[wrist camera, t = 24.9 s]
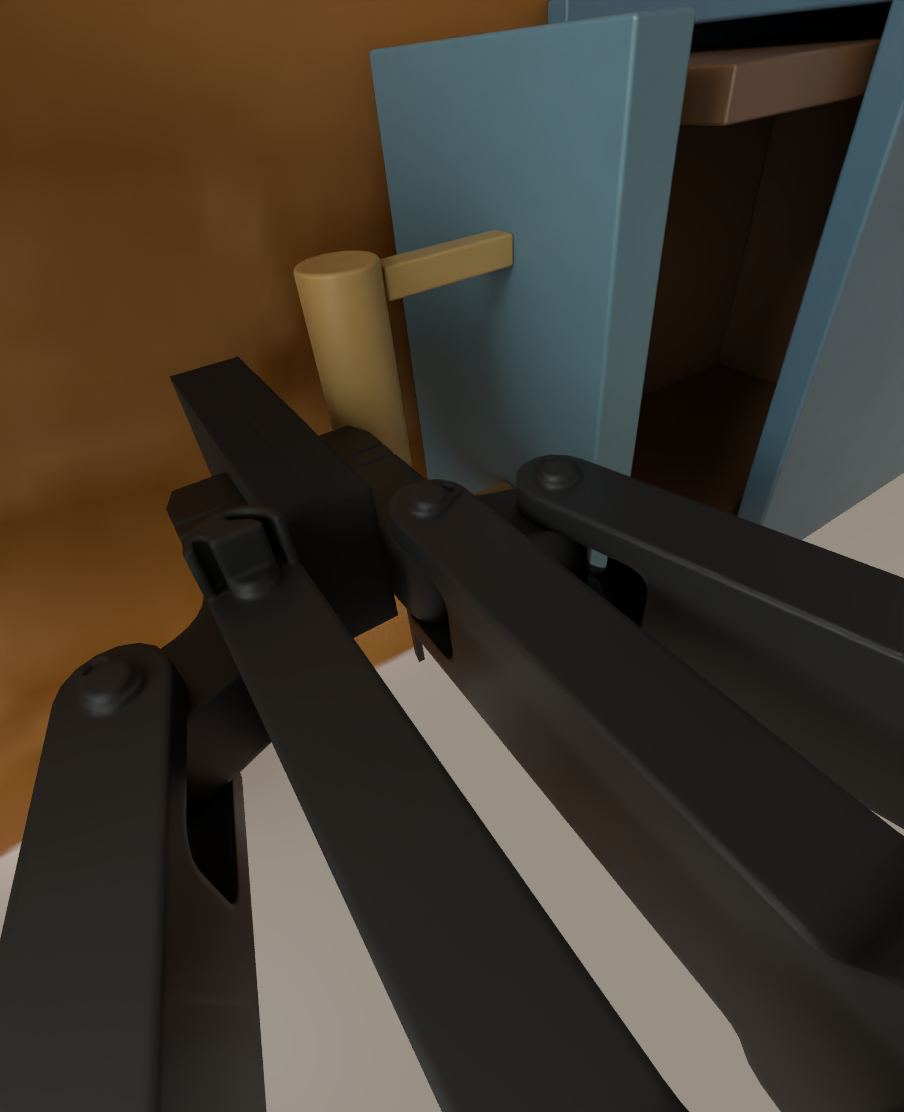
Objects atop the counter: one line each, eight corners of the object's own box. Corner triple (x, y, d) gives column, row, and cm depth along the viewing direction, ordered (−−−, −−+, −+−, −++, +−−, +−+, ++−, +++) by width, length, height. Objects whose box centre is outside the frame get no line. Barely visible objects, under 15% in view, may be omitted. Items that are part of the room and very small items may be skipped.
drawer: (319, 556, 19) (445, 722, 14) (165, 71, 11) (330, 42, 6) (702, 383, 26) (881, 451, 21) (782, 5, 18) (1108, -37, 13)
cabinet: (539, 454, 24) (742, 580, 17) (546, 0, 15) (968, -79, 9) (776, 347, 29) (994, 413, 23) (884, -28, 20) (1290, -89, 14)
